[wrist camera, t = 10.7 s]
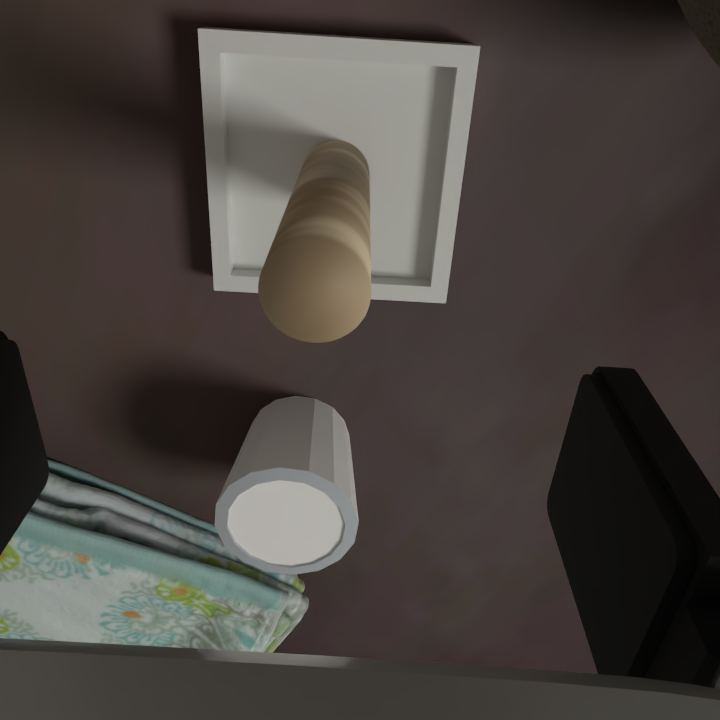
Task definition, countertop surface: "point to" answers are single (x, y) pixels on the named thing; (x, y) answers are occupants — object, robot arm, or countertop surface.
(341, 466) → the shot glass
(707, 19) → the cantaloupe
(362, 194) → the dowel
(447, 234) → the tray
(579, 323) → the countertop surface
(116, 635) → the towel
